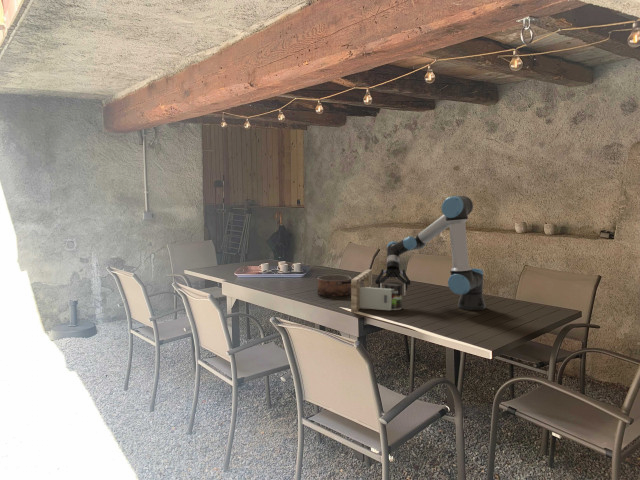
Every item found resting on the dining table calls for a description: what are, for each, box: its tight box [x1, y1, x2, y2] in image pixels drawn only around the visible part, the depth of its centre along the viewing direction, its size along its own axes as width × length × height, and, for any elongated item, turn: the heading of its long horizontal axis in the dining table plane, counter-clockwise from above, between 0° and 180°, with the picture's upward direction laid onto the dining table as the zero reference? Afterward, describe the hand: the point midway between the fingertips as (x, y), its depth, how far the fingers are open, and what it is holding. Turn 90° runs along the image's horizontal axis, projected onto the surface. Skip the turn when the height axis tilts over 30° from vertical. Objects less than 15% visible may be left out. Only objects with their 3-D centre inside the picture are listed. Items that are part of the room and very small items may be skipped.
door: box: [359, 286, 392, 311], centre depth 262 cm, size 20×3×12 cm, turn 71°
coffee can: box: [384, 281, 403, 311], centre depth 266 cm, size 10×10×14 cm
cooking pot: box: [316, 274, 352, 298], centre depth 306 cm, size 30×22×11 cm
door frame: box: [350, 269, 373, 313], centre depth 275 cm, size 38×3×18 cm, turn 161°
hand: (392, 294), depth 265 cm, fingers open, 13 cm apart
